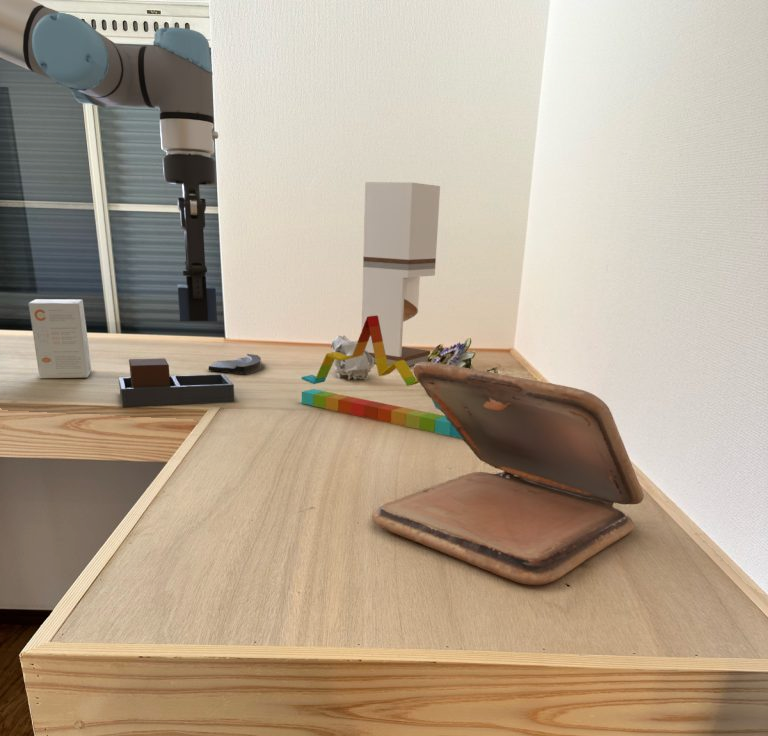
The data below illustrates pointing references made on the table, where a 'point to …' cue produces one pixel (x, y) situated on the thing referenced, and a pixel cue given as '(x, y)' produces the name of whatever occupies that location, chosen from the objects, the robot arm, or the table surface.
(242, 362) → the curved wedge
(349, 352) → the crumpled paper
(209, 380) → the holder
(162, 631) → the table surface
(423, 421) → the multicoloured zigzag triangular frame
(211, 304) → the pad
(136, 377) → the brown rectangular block
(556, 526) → the case
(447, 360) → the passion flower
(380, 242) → the notched striped pillar
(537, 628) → the table surface
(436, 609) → the table surface
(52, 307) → the small box
